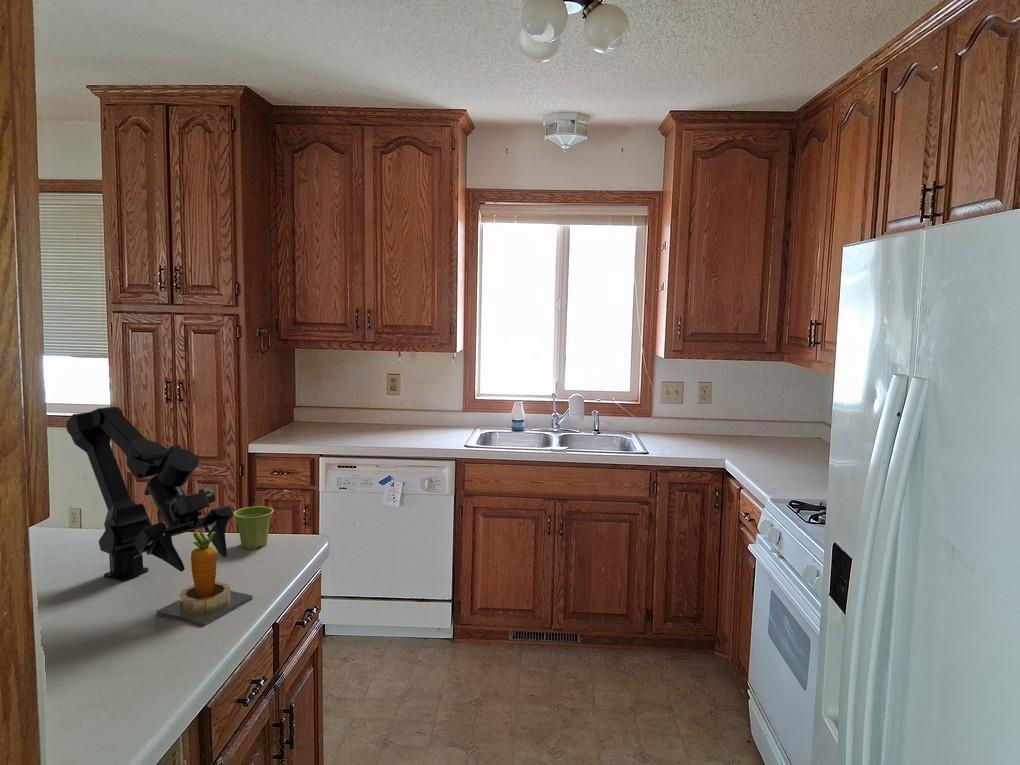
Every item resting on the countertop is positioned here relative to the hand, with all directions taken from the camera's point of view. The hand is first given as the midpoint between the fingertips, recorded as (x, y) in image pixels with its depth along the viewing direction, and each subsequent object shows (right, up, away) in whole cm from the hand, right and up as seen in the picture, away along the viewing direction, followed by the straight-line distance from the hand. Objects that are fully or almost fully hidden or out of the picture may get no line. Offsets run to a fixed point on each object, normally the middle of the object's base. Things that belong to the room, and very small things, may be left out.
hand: (204, 563), depth 138 cm
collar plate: (0, -9, +1) cm, 9 cm away
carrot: (0, -8, +1) cm, 9 cm away
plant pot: (-4, -5, +37) cm, 37 cm away
